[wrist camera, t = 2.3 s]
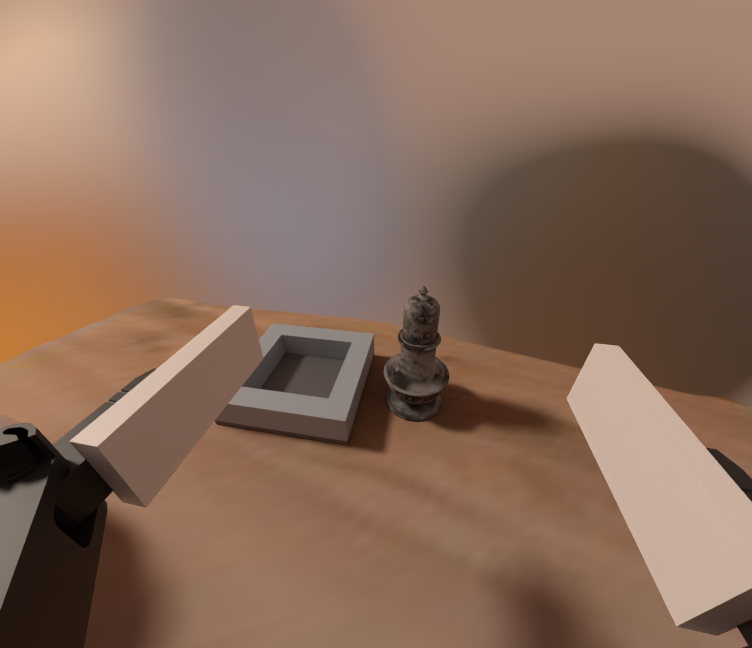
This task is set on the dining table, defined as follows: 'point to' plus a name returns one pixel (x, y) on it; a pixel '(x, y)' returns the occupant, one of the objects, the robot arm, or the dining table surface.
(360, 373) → the socket block
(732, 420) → the dining table surface
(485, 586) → the dining table surface
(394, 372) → the salt shaker
